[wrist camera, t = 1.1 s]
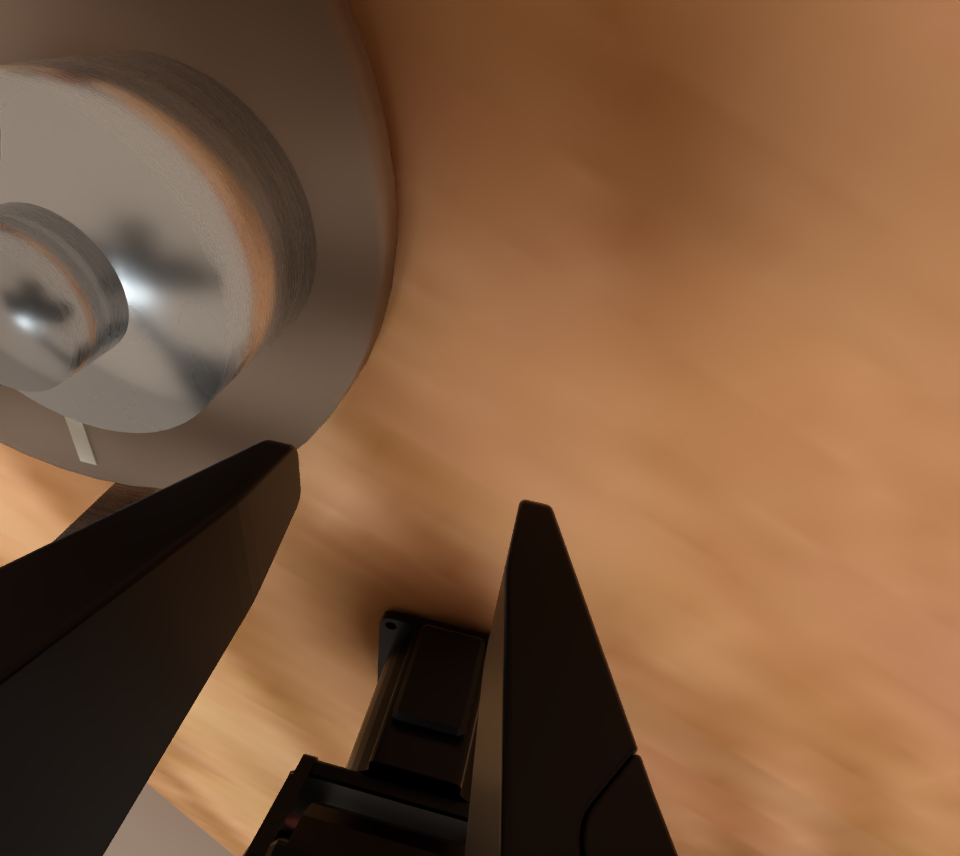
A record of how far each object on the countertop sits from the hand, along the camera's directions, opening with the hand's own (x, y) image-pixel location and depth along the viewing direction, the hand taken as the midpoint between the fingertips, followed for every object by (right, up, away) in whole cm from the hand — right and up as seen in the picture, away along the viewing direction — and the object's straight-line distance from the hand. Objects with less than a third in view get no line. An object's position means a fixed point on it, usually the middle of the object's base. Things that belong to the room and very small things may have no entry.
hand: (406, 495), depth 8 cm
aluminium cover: (-6, +6, +7) cm, 11 cm away
